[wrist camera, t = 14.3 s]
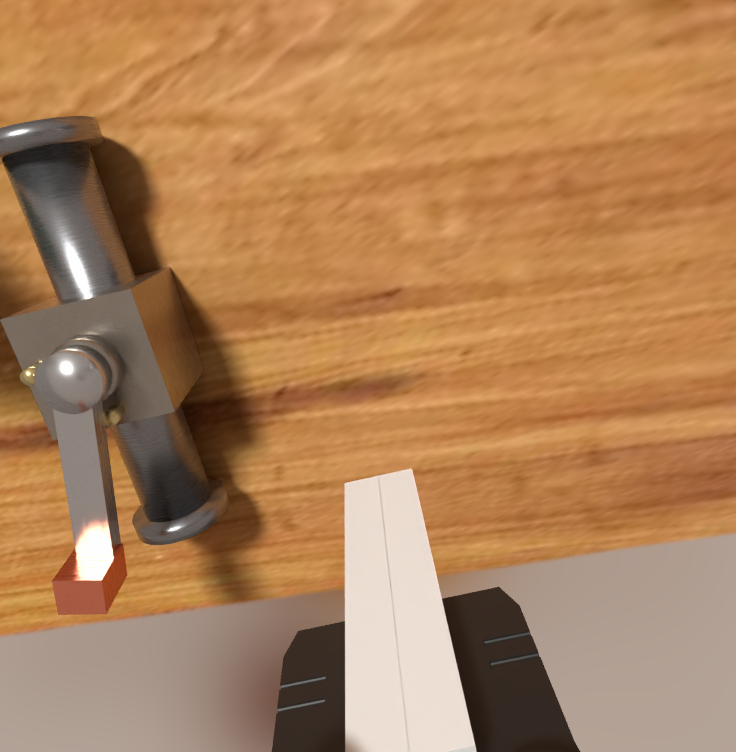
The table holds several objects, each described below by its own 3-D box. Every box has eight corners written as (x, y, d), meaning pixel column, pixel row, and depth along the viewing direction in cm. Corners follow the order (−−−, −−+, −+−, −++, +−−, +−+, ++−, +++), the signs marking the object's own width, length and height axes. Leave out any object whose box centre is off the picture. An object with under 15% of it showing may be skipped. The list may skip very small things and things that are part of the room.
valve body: (6, 148, 40) (-96, 140, 30) (120, 120, 39) (52, 103, 30) (148, 503, 49) (102, 580, 39) (242, 482, 49) (218, 555, 39)
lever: (45, 344, 34) (5, 367, 30) (108, 344, 34) (77, 367, 30) (81, 569, 39) (51, 614, 35) (136, 568, 39) (113, 613, 35)
